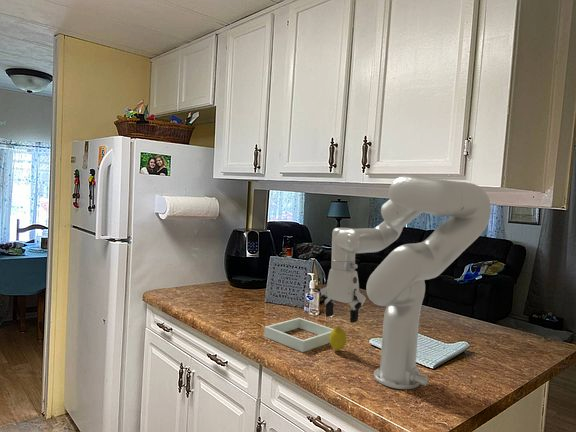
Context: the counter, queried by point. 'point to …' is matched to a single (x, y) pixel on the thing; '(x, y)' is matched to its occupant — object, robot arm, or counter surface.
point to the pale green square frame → (301, 345)
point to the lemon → (337, 338)
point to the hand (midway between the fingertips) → (341, 318)
